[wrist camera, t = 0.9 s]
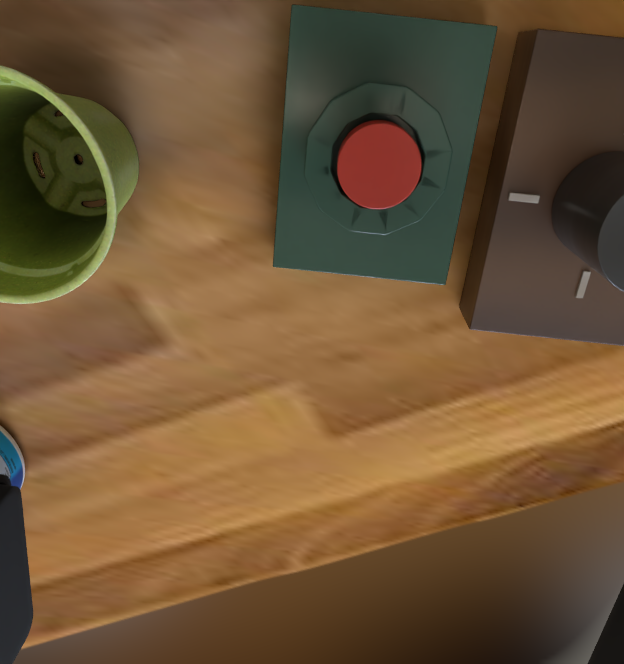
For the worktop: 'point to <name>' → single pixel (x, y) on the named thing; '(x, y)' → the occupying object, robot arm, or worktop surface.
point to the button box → (377, 104)
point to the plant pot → (57, 188)
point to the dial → (594, 214)
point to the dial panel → (546, 192)
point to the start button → (378, 164)
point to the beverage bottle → (11, 459)
